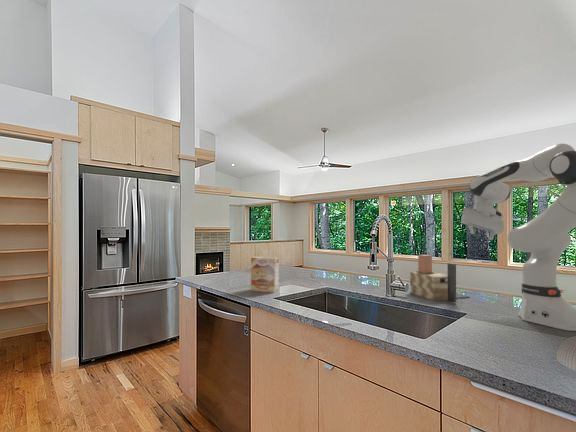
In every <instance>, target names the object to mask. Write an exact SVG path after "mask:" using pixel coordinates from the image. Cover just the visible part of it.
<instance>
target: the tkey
mask: <svg viewBox="0 0 576 432" xmlns="http://www.w3.org/2000/svg"><path fill="white" fill-rule="evenodd" d="M447 275H448V280H445V279H443V280H442V282H445V283H448V299H447V301H449V302H452V303H457V299H456V293H457V264H456V263H450V262H448V263H447Z"/></svg>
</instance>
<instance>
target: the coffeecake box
mask: <svg viewBox="0 0 576 432" xmlns="http://www.w3.org/2000/svg"><path fill="white" fill-rule="evenodd" d="M279 259H280V258H279V257H273V256H272V257H271V256H252V257H251V259H250V261H251V263H250V291H251V292H252V291H253V292H261V293H262V292H263V293H273V294H274V293H277V292H278V291H279V279H280V278H279V276H280V275H279V272H280V271H279V269H280V267H279V266H280V263H279Z"/></svg>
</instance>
